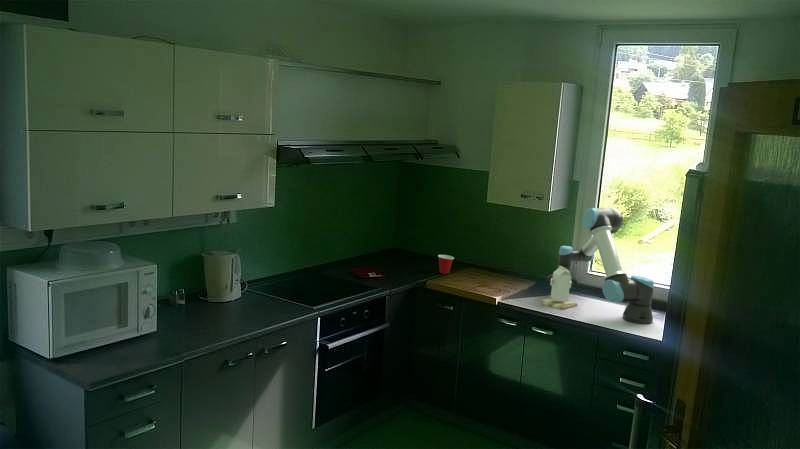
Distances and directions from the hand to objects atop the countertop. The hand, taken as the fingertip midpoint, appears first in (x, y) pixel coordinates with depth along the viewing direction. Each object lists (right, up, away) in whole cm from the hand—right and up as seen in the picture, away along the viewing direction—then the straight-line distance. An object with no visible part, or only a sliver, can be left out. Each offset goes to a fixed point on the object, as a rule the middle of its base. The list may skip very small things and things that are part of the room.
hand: (560, 284), depth 351 cm
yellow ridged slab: (+1, -12, +6) cm, 14 cm away
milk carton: (+1, -9, +6) cm, 11 cm away
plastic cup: (-60, +1, +62) cm, 86 cm away
